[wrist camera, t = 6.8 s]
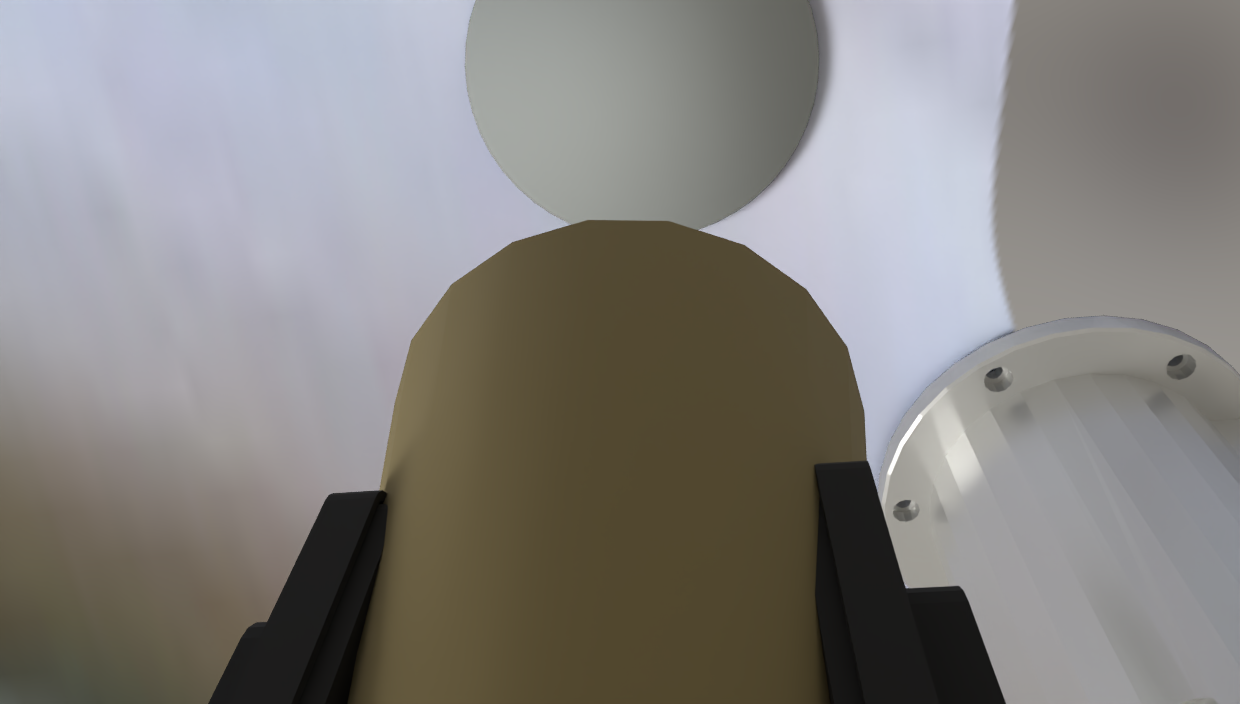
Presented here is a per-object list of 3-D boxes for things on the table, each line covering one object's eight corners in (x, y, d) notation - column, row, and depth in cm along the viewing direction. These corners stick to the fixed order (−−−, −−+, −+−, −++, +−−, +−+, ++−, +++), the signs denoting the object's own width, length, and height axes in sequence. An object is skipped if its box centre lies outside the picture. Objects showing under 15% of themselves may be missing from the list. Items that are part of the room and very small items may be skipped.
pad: (814, -137, 29) (815, -137, 29) (820, 221, 34) (821, 225, 33) (438, -98, 30) (436, -97, 30) (494, 247, 34) (493, 251, 34)
